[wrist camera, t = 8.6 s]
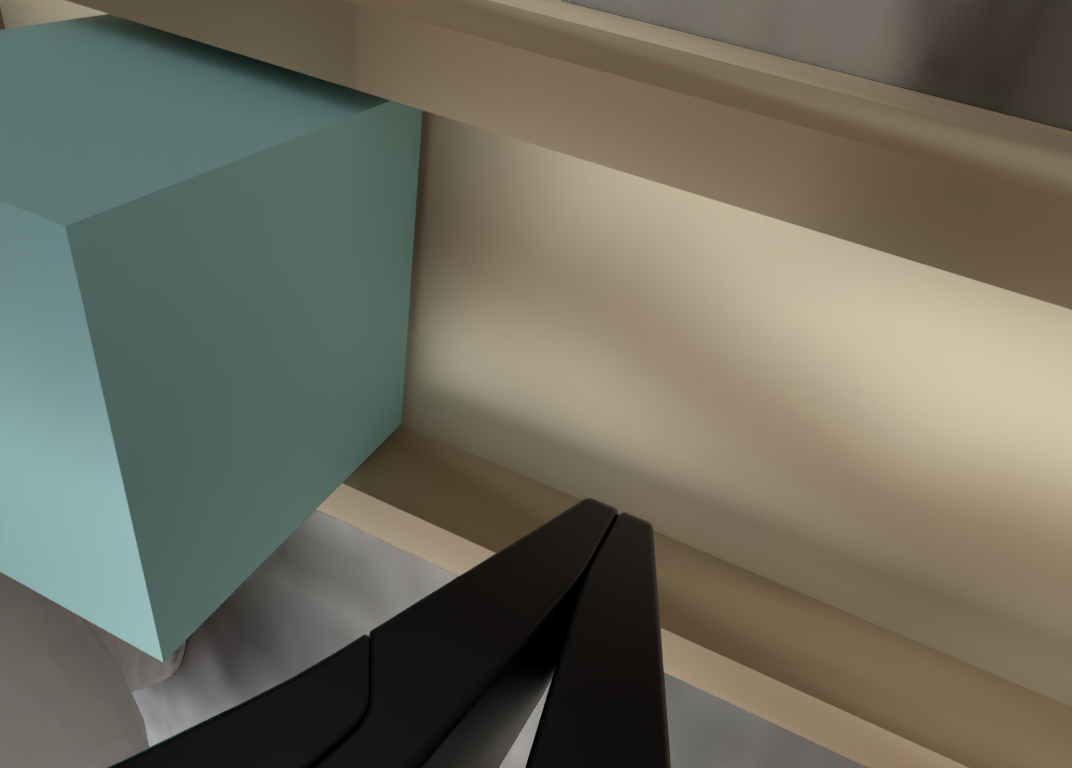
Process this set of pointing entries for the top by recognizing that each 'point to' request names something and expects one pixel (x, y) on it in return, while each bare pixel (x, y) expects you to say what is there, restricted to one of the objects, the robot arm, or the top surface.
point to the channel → (728, 352)
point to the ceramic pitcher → (68, 686)
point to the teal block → (187, 312)
